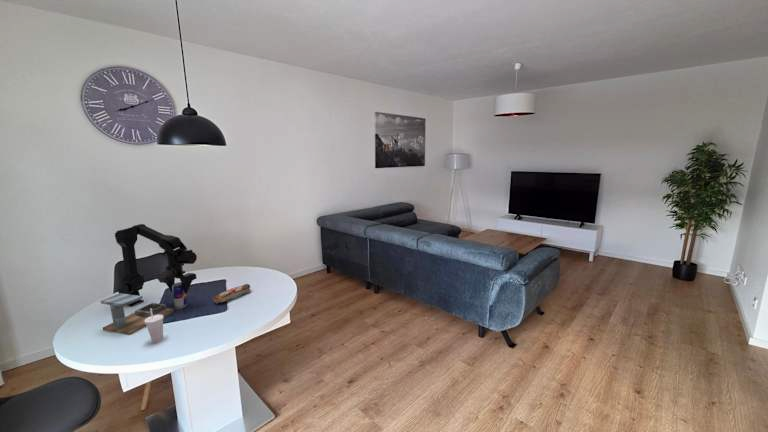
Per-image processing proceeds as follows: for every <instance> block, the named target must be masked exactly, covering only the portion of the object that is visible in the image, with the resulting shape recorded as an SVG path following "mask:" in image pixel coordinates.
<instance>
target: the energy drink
mask: <svg viewBox="0 0 768 432" xmlns="http://www.w3.org/2000/svg"><path fill="white" fill-rule="evenodd" d="M180 282H181V281H180ZM180 282H179V281H178V282H175V284H173V285H172V291H173V292H172V296H173V303H174V308H175V309H177V310H181V309H184V308H186V307H187V306H188V298H187V293H186V294H185V293H184V289H183V285H182V284H181V283H180Z"/></svg>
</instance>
